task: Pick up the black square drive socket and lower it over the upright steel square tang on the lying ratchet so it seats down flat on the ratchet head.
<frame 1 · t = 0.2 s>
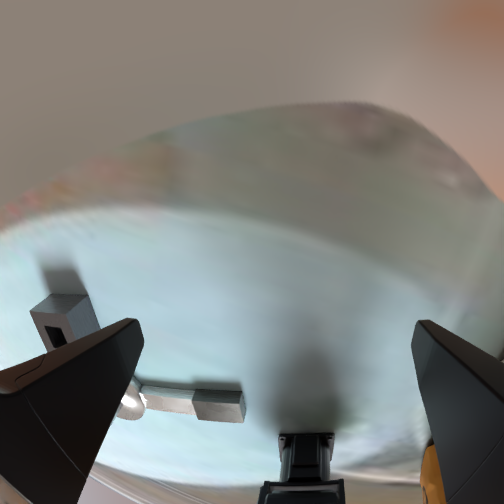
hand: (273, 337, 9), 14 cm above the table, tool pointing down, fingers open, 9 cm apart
coffee package: (445, 451, 31), on the table
socket: (77, 318, 30), on the table
ratchet: (119, 388, 33), on the table
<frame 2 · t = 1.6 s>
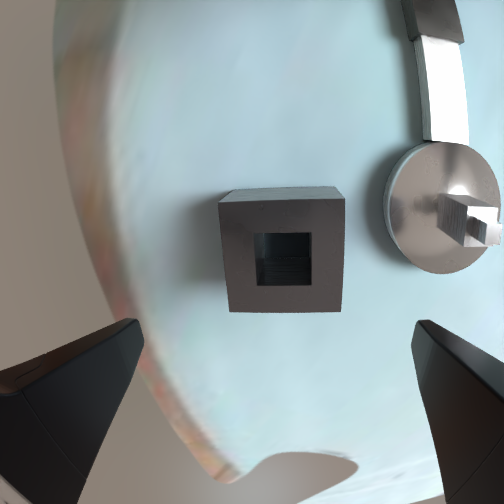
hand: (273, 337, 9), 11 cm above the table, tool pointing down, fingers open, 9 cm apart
socket: (286, 236, 19), on the table
ratchet: (439, 204, 17), on the table
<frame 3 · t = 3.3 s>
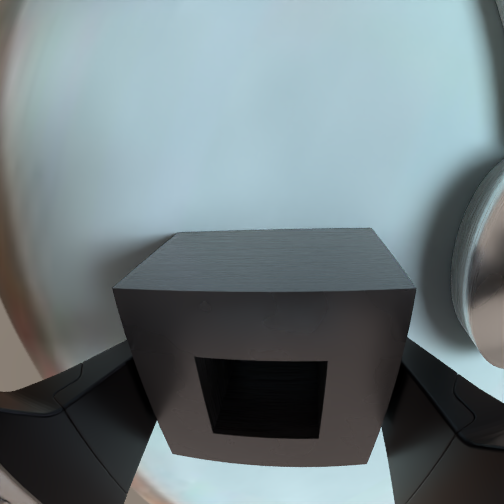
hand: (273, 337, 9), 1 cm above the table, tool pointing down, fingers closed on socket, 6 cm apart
socket: (276, 316, 10), on the table, touching gripper
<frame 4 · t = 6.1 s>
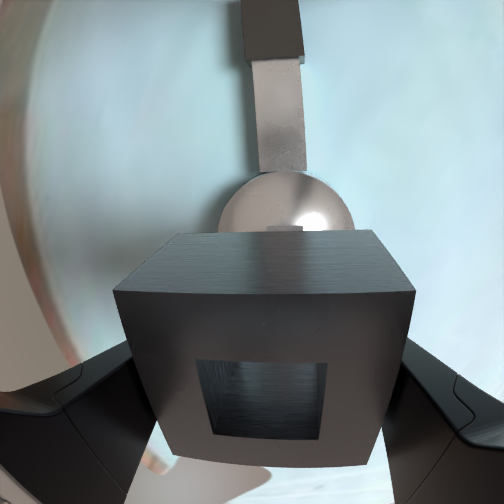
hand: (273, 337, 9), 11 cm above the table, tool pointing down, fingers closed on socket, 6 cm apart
socket: (276, 317, 10), point 10 cm above the table, touching gripper
ratchet: (287, 233, 19), on the table
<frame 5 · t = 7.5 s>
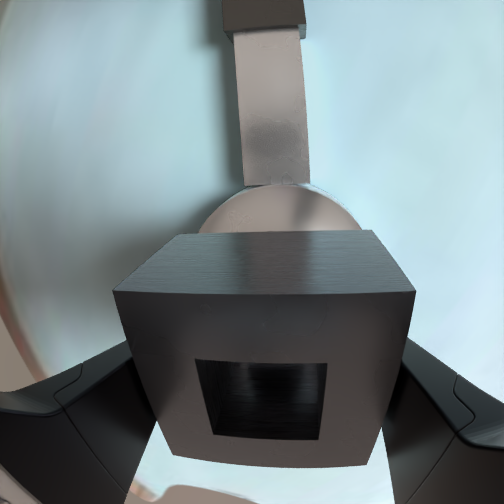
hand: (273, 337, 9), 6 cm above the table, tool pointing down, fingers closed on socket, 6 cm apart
socket: (276, 317, 10), point 5 cm above the table, touching gripper
ratchet: (282, 265, 15), on the table
when the fingers open (4 cm above the table, at t = 8.8 s): socket stays where it is, resting on ratchet.
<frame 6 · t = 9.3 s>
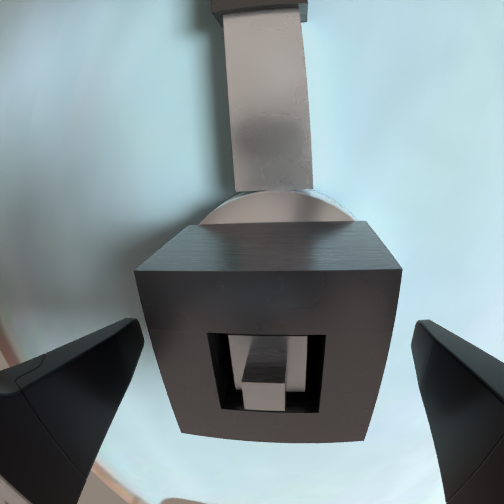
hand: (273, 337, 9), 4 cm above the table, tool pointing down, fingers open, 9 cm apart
socket: (278, 302, 11), point 2 cm above the table, touching ratchet
ratchet: (280, 281, 13), on the table
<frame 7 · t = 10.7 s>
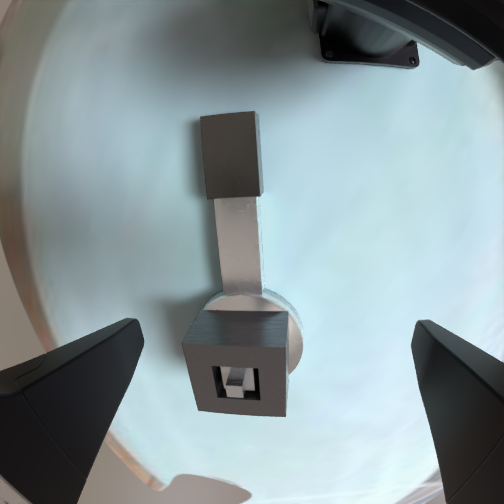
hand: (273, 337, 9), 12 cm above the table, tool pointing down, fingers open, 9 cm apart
socket: (246, 346, 21), point 2 cm above the table, touching ratchet
ratchet: (249, 332, 23), on the table
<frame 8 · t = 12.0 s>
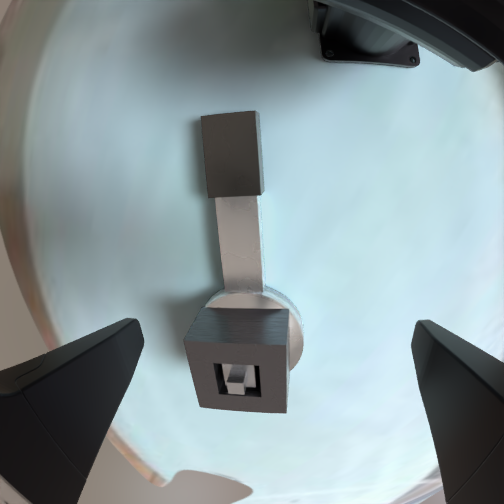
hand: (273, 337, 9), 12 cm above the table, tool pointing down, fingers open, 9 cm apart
socket: (247, 343, 22), point 2 cm above the table, touching ratchet
ratchet: (251, 329, 23), on the table
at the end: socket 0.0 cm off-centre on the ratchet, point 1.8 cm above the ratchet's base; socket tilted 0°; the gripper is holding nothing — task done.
